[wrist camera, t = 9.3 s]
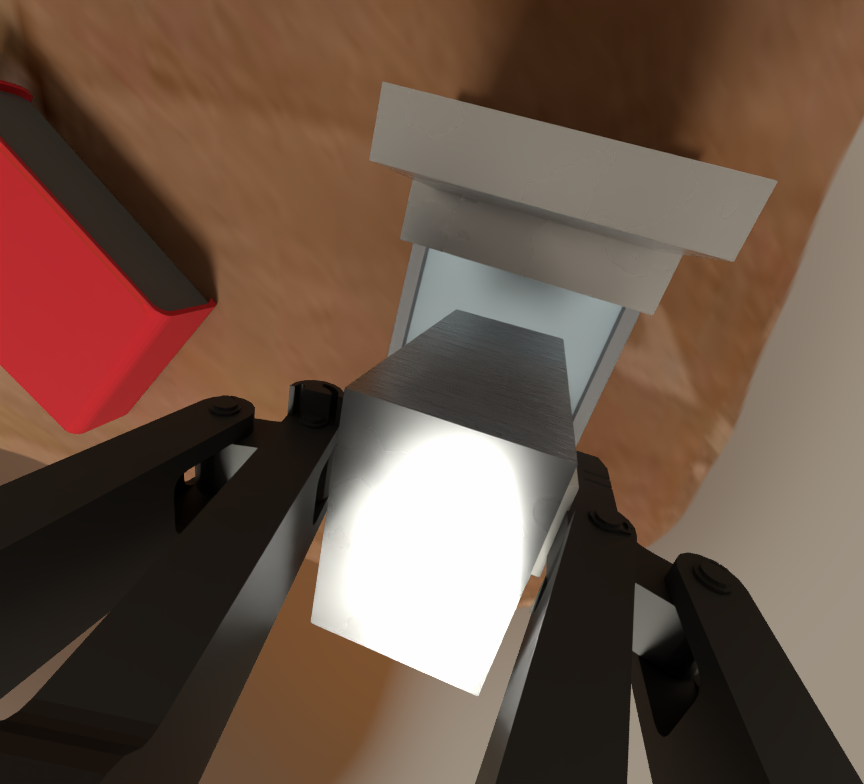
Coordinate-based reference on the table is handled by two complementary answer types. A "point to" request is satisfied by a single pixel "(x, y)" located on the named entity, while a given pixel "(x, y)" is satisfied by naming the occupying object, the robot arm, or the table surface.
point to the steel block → (445, 494)
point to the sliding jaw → (558, 198)
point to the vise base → (517, 317)
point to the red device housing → (79, 280)
